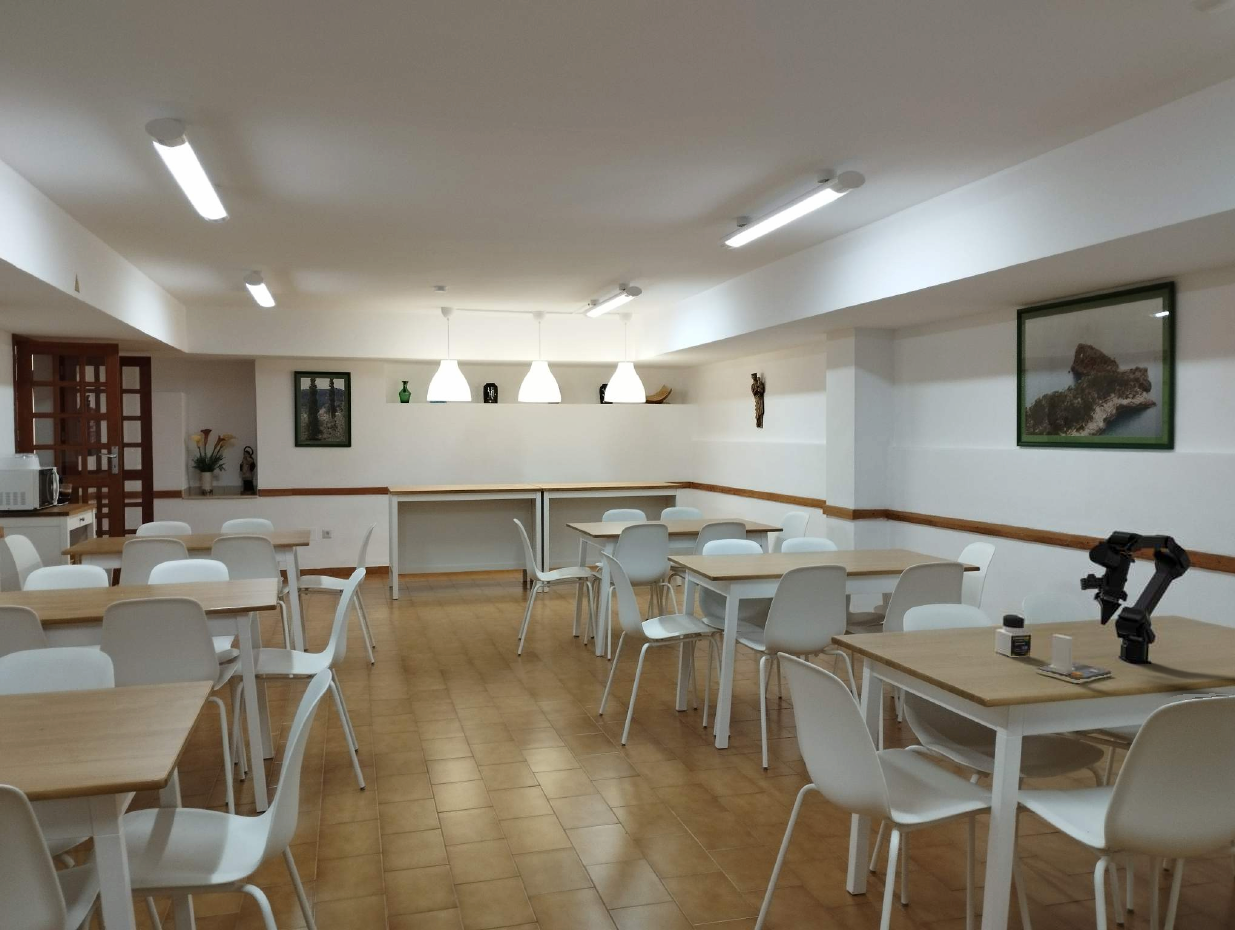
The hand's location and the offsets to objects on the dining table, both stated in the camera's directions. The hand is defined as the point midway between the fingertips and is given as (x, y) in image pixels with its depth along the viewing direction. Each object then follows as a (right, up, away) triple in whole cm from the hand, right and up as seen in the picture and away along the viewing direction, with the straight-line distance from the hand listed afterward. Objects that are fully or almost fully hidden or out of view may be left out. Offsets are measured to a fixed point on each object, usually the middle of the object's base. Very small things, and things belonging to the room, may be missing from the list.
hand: (1102, 624), depth 258 cm
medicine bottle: (-20, -12, +13) cm, 27 cm away
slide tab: (-18, -11, -11) cm, 24 cm away
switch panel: (-13, -13, -8) cm, 20 cm away
